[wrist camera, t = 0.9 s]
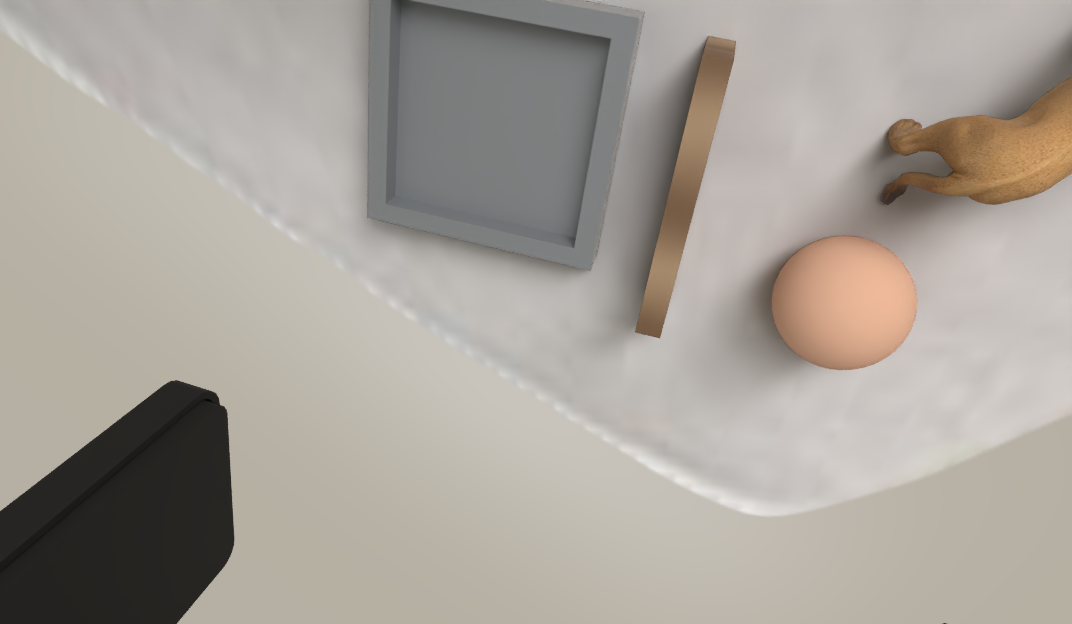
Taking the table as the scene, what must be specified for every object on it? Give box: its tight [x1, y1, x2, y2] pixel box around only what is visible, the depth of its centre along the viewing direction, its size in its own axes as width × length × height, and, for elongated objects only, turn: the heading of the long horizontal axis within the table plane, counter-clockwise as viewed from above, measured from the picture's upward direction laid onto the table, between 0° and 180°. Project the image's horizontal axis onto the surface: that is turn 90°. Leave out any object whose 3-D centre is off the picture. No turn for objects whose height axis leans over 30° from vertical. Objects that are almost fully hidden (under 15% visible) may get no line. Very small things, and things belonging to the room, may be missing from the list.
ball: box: [772, 236, 917, 370], centre depth 33 cm, size 6×6×6 cm
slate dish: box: [367, 0, 645, 271], centre depth 35 cm, size 12×12×2 cm
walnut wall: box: [635, 36, 736, 338], centre depth 34 cm, size 13×1×4 cm, turn 173°
